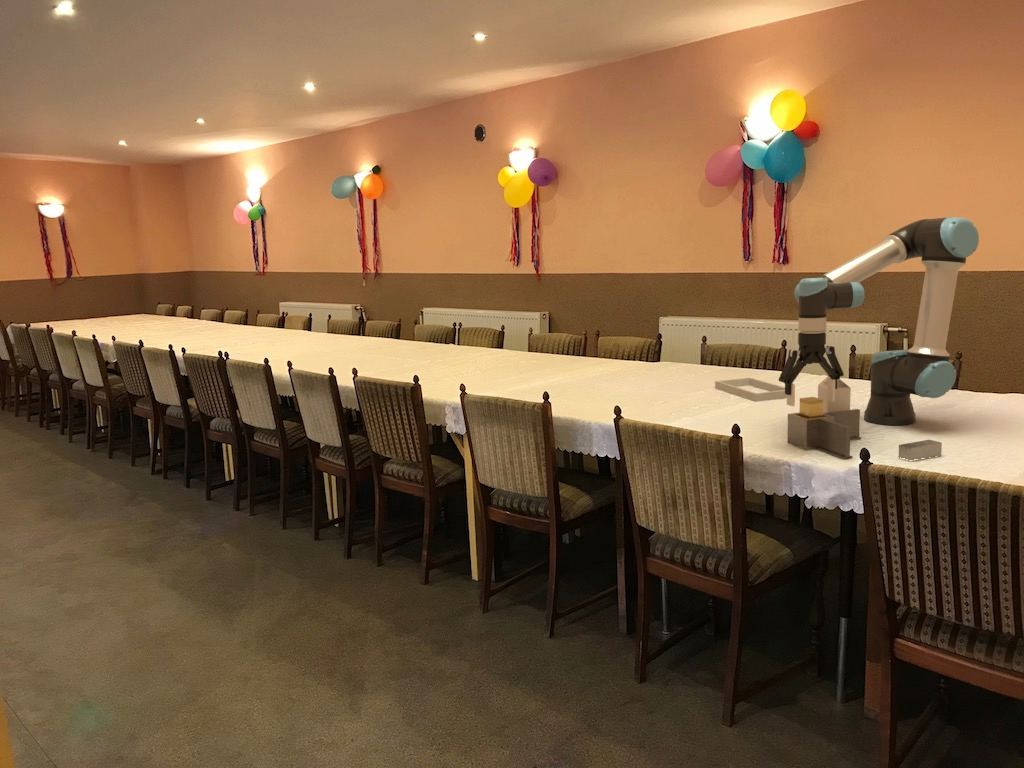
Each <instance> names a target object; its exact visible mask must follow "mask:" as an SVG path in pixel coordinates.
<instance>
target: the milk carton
mask: <svg viewBox="0 0 1024 768" xmlns="http://www.w3.org/2000/svg"><path fill="white" fill-rule="evenodd" d="M828 378H830V377H829V376H826V377H825V378H824V379H823V380H822V381H821V382H819V384H818V385H817V398H819V399H823V413H829V412H837V411H845V410H851V394H852V393H851V391H852V389H851V387H850V386H849V385H848V384H847V383H845V382H844V381H843V380H842V379H841V378H840V379H839V380H838V379H837V389H835V401H829V400H827V379H828ZM830 379H831V378H830Z"/></svg>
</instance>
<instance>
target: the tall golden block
mask: <svg viewBox="0 0 1024 768" xmlns="http://www.w3.org/2000/svg"><path fill="white" fill-rule="evenodd" d="M798 410H799V412H798V413H799V416H801V417H804V418H807V419H810V418H818V417H823V399H819V398H818V397H815V396H809V397H808V396H807V397H800V398H799V409H798Z"/></svg>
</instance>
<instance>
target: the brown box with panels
mask: <svg viewBox="0 0 1024 768" xmlns="http://www.w3.org/2000/svg"><path fill="white" fill-rule="evenodd" d="M860 419H861V409H858V408H855V409H854V408H853V409H850V410H845V411H837V412H829V413H823V417H818V418H810V419H807V418H804V417H801V416H799V412H793V413H787V444H789V445H792V446H795V447H797V448H799V449H802V450H805V451H811V450H818V451H820V452H823V453H825V454H828V455H830V456H834V457H836V458H838V459H841V460H842V461H843V460H849V459H850V460H851V459H853V457H854V456H853V455H851V442H852V441H859V440H862V436H860V423H861V422H860Z"/></svg>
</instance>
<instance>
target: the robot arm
mask: <svg viewBox="0 0 1024 768" xmlns="http://www.w3.org/2000/svg"><path fill="white" fill-rule="evenodd" d="M979 242H980V238H979V231H978V228H977V227H976V226H975V225H974V223H973V221H971V220H969V219H968V218H965V217H956V216H955V217H954V216H951V217H950V216H949V217H939V218H937V217H936V218H924V219H918V220H915V221H914V222H911V223H908V224H907V225H904V226H902V227H900V228H899V229H897V230H895V231H893V232H891V233H890V234H887V235H886V236H884V237H883V238H882V240H881V242H880V243H879V244H876V245H874V246H873V247H871V248H869V249H867V250H865V251H864V252H861V253H860V254H858V255H857V256H854V257H853V258H851V259H849V260H847V261H845V262H844V263H842V264H840V265H838V266H837V267H834V268H833V269H832V270H829V271H828V272H826V273H824V274H823V275H820V276H818V277H809V278H807V277H806V278H802V279H800V281H799V283H797V285H796V287H795V289H794V293H793V295H794V299H795V301H796V302H797V303H798V328H797V329H798V331H799V333H797V334H798V335H797V338H798V339H797V344H798V349H797V350H795V349H789V350H788V357H787V358H786V361H785V364H784V366H783V368H782V370H781V373H780V376H779V378H778V382H780V383H783V384H784V387H785V394H786V395H787V398H786V405H787V406H790V407H795V403H796V399H795V398H796V395H795V393H796V384H795V383H794V381H795V380H796V379H797V378H798V376H799V374H801V372H802V370H803V369H804V367H806V366H807V365H812V364H819V365H820V367H821V369H823V370H824V372H825V373H826V374H827V375H828V376H829V377H830V378H831V379H830V378H828V379H827V400H829V401H835V389H837V379H838V380H839V379H840V380H841V377H843V376H845V374H844V371H843V369H842V367H841V364H840V361H839V359H838V357H837V355H836V350H835V348H836V347H835V346H831V345H826V344H827V333H826V332H825V331H826V330H827V313H828V312H827V311H828V310H829V311H830V310H841V309H844V310H845V309H849V310H850V309H852V308H857V307H860V306H861V305H863V303H864V300H865V288H864V287H863V285H862V284H861V282H862V281H864V280H866V279H868V278H870V277H872V276H873V275H875V274H877V273H879V272H880V271H882V270H884V269H886V268H887V267H889V266H891V265H893V264H901V263H903V262H905V261H907V260H911V259H916V258H921V264H922V265H923V266H924V267H925V274H924V279H923V283H922V284H923V285H922V292H921V297H920V303H919V304H920V305H919V310H918V315H917V322H916V323H917V324H916V329H915V333H914V334H915V335H914V342H913V345H912V347H911V348H909V349H898V350H896V349H895V350H885V351H877V352H875V353H873V354H872V357H871V363H870V367H871V368H870V396H869V399H868V403H867V405H866V408H865V410H864V412H863V419H864V421H866V422H869V423H872V424H877V425H885V426H886V425H887V426H904V425H905V426H906V425H910V424H914V423H916V417H917V416H916V412H915V411H914V405H913V403H912V399H911V395H914V396H915V395H916V396H918V397H920V398H929V399H936V398H941V397H942V396H944V395H946V393H948V392H949V391H950V390H951V389H952V388H953V387H954V385H955V382H956V380H957V379H956V377H957V371H956V369H955V366H954V365H953V364H952V363H950V359H951V358H950V357H951V355H950V353H949V352H948V351H947V349H946V347H947V342H948V335H949V329H950V323H951V322H950V321H951V318H952V317H951V315H952V311H953V305H954V299H955V293H956V287H957V281H958V280H957V279H958V275H959V270H960V269H962V268H963V267H964V266H965V265H966V262H967V258H968V257H971V256H972V255H973V254H974V252H976V250H977V249H978V246H979ZM825 345H826V346H825ZM825 355H826V357H827V358H826V357H825ZM828 361H829V362H828ZM829 363H830V364H829Z"/></svg>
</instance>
